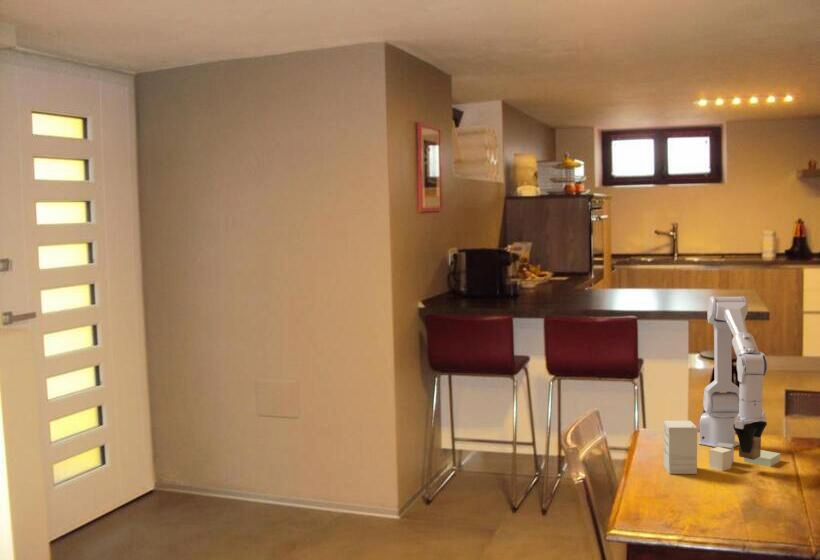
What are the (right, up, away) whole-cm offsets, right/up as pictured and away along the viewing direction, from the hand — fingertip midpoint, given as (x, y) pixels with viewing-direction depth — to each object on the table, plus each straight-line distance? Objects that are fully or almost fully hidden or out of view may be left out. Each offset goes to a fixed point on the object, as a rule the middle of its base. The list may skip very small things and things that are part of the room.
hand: (749, 450), depth 226 cm
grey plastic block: (-4, -5, +8) cm, 10 cm away
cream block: (-6, -6, +4) cm, 9 cm away
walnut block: (0, -2, 0) cm, 2 cm away
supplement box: (-18, -6, +2) cm, 19 cm away
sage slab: (+7, -5, +9) cm, 13 cm away
